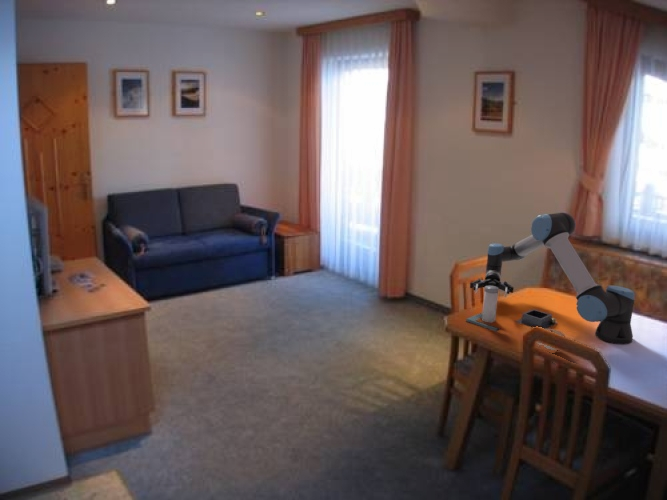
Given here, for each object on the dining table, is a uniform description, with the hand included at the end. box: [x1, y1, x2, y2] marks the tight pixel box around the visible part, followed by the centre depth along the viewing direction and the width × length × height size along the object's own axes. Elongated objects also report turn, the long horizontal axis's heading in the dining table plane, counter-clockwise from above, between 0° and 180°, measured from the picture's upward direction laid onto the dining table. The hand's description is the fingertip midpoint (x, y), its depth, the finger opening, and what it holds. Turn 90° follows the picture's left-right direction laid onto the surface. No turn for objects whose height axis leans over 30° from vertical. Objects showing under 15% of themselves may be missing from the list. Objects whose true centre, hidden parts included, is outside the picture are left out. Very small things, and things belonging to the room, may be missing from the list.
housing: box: [514, 309, 558, 329], centre depth 293 cm, size 14×14×6 cm
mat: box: [465, 312, 501, 332], centre depth 295 cm, size 16×12×1 cm
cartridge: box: [481, 286, 500, 323], centre depth 292 cm, size 6×6×16 cm
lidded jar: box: [537, 328, 566, 350], centre depth 265 cm, size 11×11×9 cm
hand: (490, 292), depth 298 cm, fingers open, 13 cm apart
